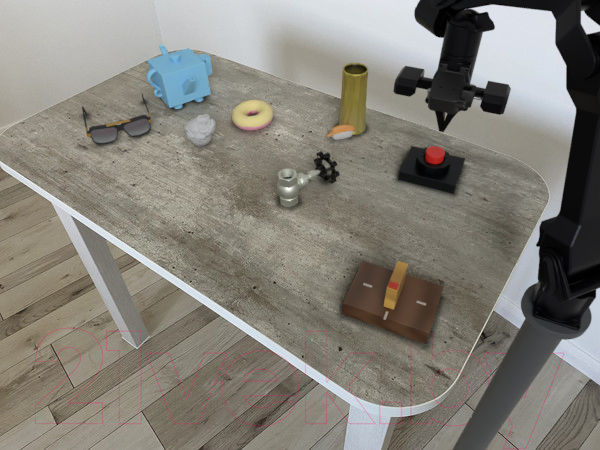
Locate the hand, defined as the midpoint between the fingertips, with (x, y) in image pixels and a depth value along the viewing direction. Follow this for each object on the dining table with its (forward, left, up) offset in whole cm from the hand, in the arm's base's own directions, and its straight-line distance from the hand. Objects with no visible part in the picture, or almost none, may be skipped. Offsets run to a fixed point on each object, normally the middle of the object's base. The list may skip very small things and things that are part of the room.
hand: (441, 130), depth 89 cm
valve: (+21, +14, -11) cm, 28 cm away
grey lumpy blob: (+48, +8, -11) cm, 50 cm away
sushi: (+21, -5, -11) cm, 24 cm away
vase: (+20, -10, -11) cm, 25 cm away
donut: (+42, -4, -11) cm, 44 cm away
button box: (0, -1, -11) cm, 11 cm away
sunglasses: (+70, +9, -11) cm, 72 cm away
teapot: (+63, -7, -11) cm, 65 cm away
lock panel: (-2, +33, -11) cm, 35 cm away
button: (0, -1, -7) cm, 7 cm away
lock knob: (-2, +33, -8) cm, 34 cm away
